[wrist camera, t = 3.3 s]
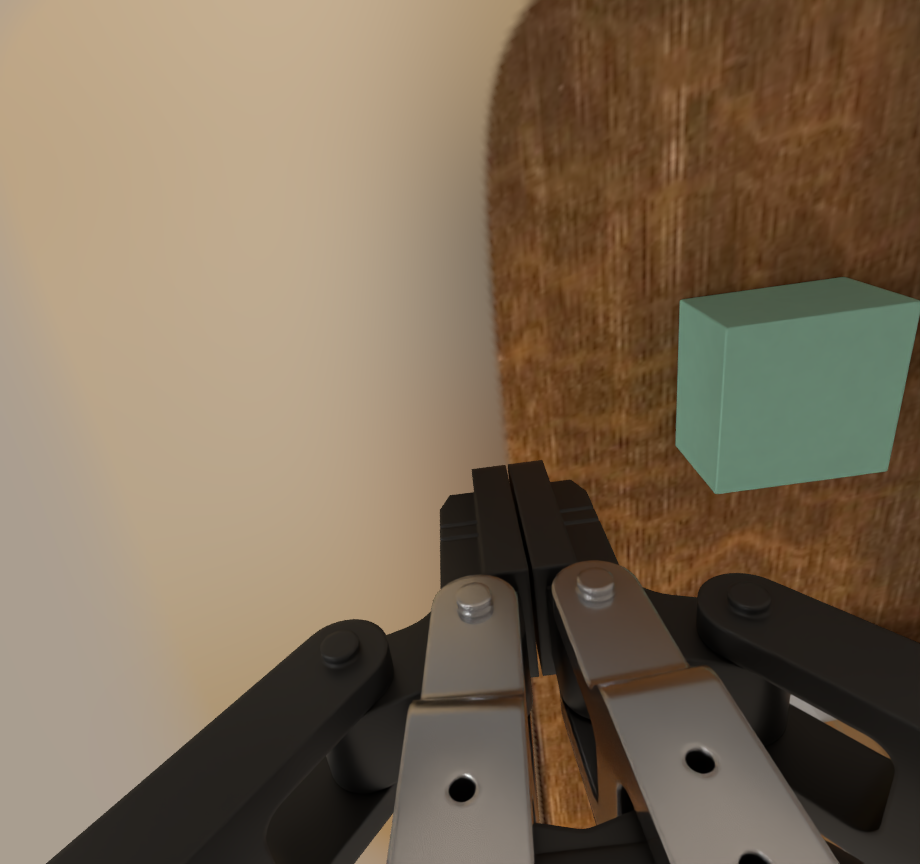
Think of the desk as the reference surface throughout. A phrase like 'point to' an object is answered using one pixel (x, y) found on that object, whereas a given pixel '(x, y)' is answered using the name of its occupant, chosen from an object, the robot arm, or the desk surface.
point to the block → (792, 382)
